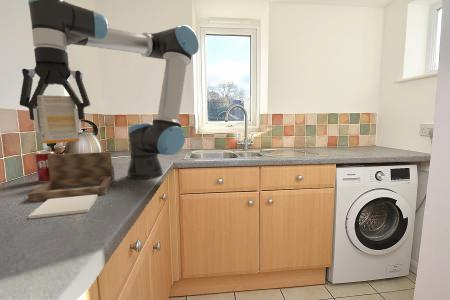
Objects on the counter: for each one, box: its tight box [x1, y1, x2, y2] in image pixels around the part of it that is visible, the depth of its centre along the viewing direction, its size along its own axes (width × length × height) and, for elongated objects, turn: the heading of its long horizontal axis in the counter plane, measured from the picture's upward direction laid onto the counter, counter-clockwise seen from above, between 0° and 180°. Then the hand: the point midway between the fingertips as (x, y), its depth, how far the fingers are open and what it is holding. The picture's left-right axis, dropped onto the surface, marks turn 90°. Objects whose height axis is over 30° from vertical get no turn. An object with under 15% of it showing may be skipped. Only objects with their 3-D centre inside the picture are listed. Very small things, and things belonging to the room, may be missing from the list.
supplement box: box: [37, 94, 80, 145], centre depth 70 cm, size 8×5×13 cm, turn 141°
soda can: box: [34, 150, 57, 184], centre depth 104 cm, size 7×7×12 cm
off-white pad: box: [28, 194, 99, 219], centre depth 74 cm, size 14×14×1 cm
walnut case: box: [27, 151, 116, 202], centre depth 90 cm, size 23×20×12 cm
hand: (59, 131), depth 71 cm, fingers closed on supplement box, 9 cm apart
